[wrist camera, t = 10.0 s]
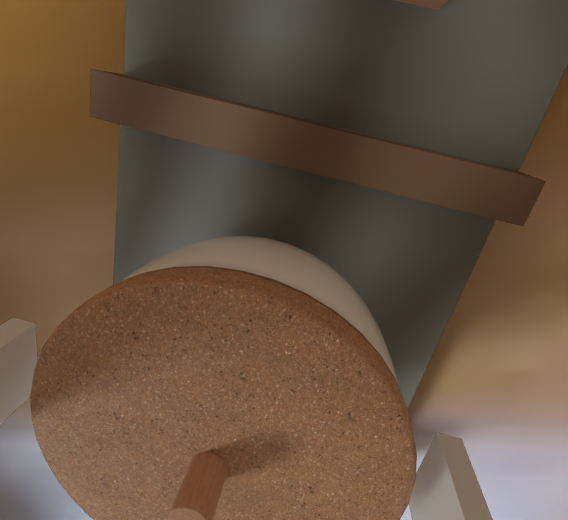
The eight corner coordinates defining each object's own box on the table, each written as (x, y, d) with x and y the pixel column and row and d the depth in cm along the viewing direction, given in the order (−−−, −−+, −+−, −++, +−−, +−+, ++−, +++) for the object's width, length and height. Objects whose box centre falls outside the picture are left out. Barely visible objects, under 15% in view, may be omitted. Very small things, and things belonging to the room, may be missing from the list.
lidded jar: (334, 436, 19) (328, 699, 11) (138, 366, 20) (-24, 570, 11) (428, 253, 15) (542, 443, 7) (176, 165, 15) (-36, 239, 7)
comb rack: (121, 392, 22) (84, 440, 19) (187, -602, 10) (107, -966, 6) (368, 463, 22) (373, 525, 19) (802, -506, 9) (1066, -860, 6)
